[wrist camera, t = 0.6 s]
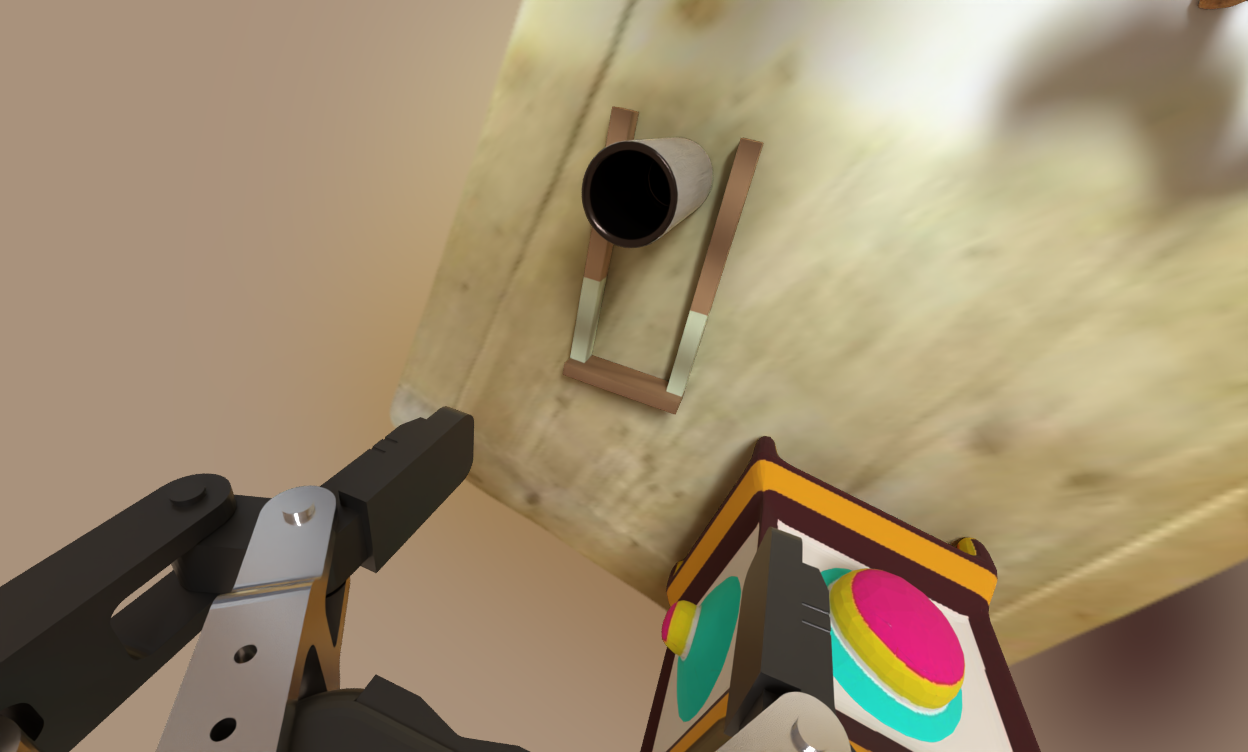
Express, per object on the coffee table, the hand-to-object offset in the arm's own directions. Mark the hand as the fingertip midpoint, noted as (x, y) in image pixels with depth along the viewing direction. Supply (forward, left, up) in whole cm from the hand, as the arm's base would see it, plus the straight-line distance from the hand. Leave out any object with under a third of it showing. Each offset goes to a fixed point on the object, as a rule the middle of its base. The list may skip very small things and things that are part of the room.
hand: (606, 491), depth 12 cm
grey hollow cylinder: (-5, -5, -23) cm, 24 cm away
